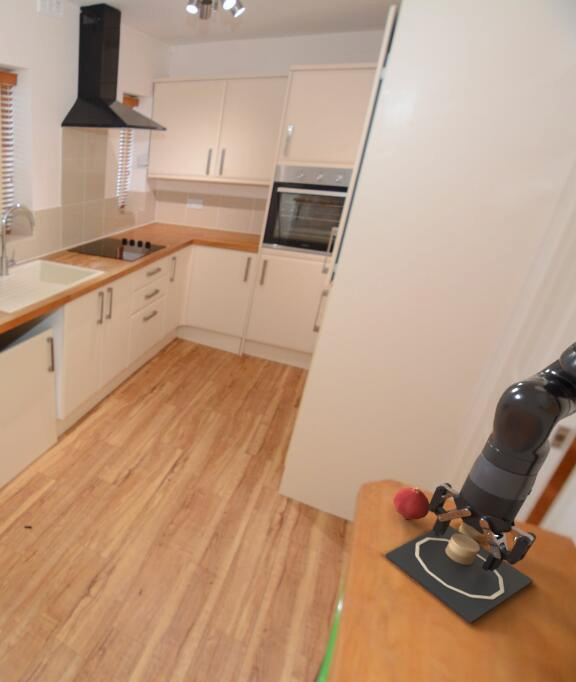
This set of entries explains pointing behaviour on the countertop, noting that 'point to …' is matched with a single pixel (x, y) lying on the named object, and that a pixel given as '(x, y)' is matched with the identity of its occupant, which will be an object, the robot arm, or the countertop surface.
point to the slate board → (458, 575)
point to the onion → (411, 503)
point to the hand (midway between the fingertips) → (462, 551)
